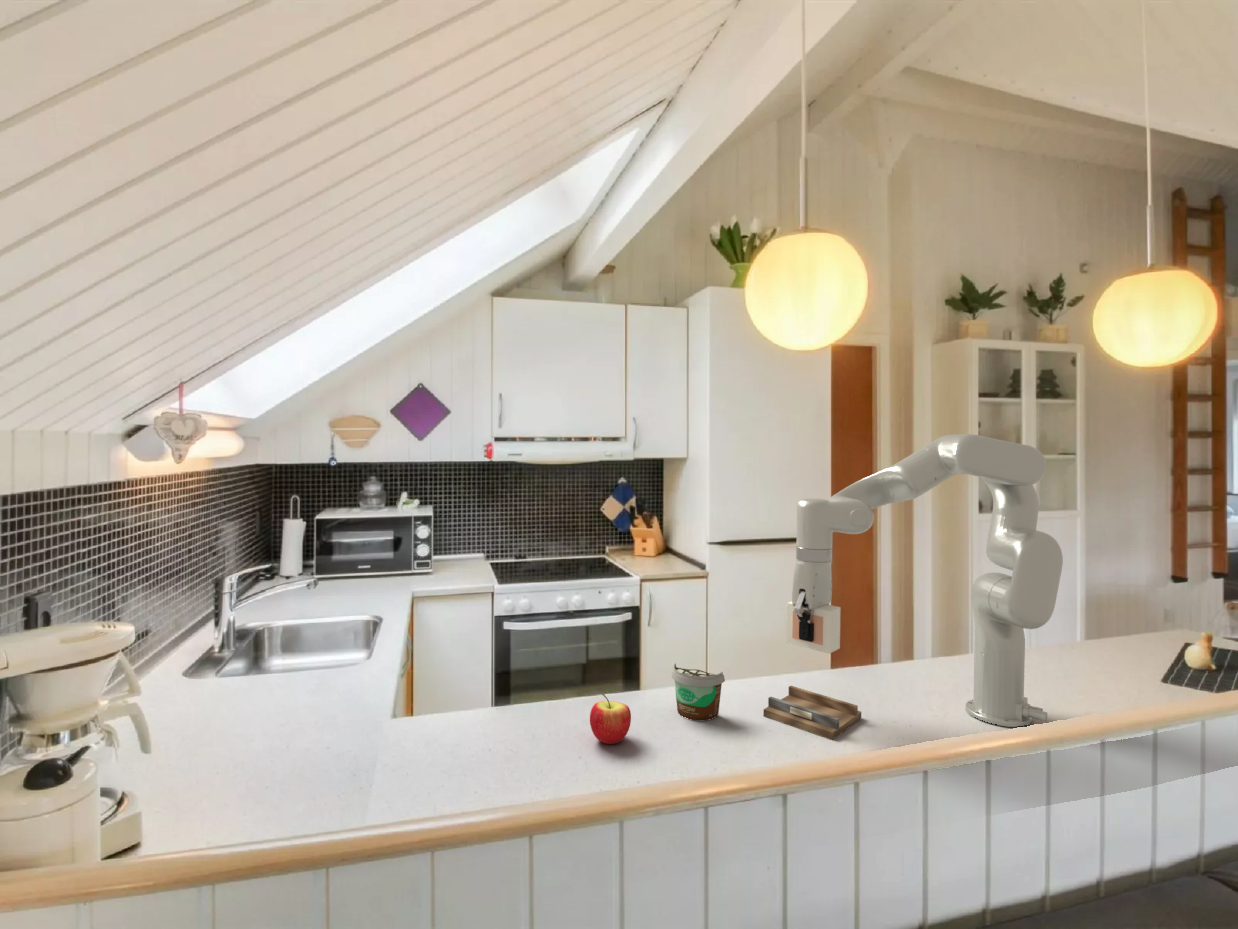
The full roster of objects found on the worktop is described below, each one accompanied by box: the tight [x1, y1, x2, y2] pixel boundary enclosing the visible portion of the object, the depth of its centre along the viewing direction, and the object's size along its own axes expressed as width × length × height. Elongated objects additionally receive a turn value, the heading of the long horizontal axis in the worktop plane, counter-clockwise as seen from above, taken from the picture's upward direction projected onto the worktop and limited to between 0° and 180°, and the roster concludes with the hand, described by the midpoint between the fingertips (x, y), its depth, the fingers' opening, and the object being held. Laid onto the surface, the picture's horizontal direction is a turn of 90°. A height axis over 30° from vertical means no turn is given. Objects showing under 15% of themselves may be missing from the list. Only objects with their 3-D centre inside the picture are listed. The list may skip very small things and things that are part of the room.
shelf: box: [763, 685, 862, 741], centre depth 137 cm, size 16×14×4 cm
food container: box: [670, 662, 726, 721], centre depth 138 cm, size 12×6×10 cm, turn 62°
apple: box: [589, 692, 632, 745], centre depth 126 cm, size 8×8×10 cm
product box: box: [786, 600, 841, 654], centre depth 137 cm, size 5×10×9 cm, turn 46°
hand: (812, 636), depth 137 cm, fingers closed on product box, 5 cm apart
